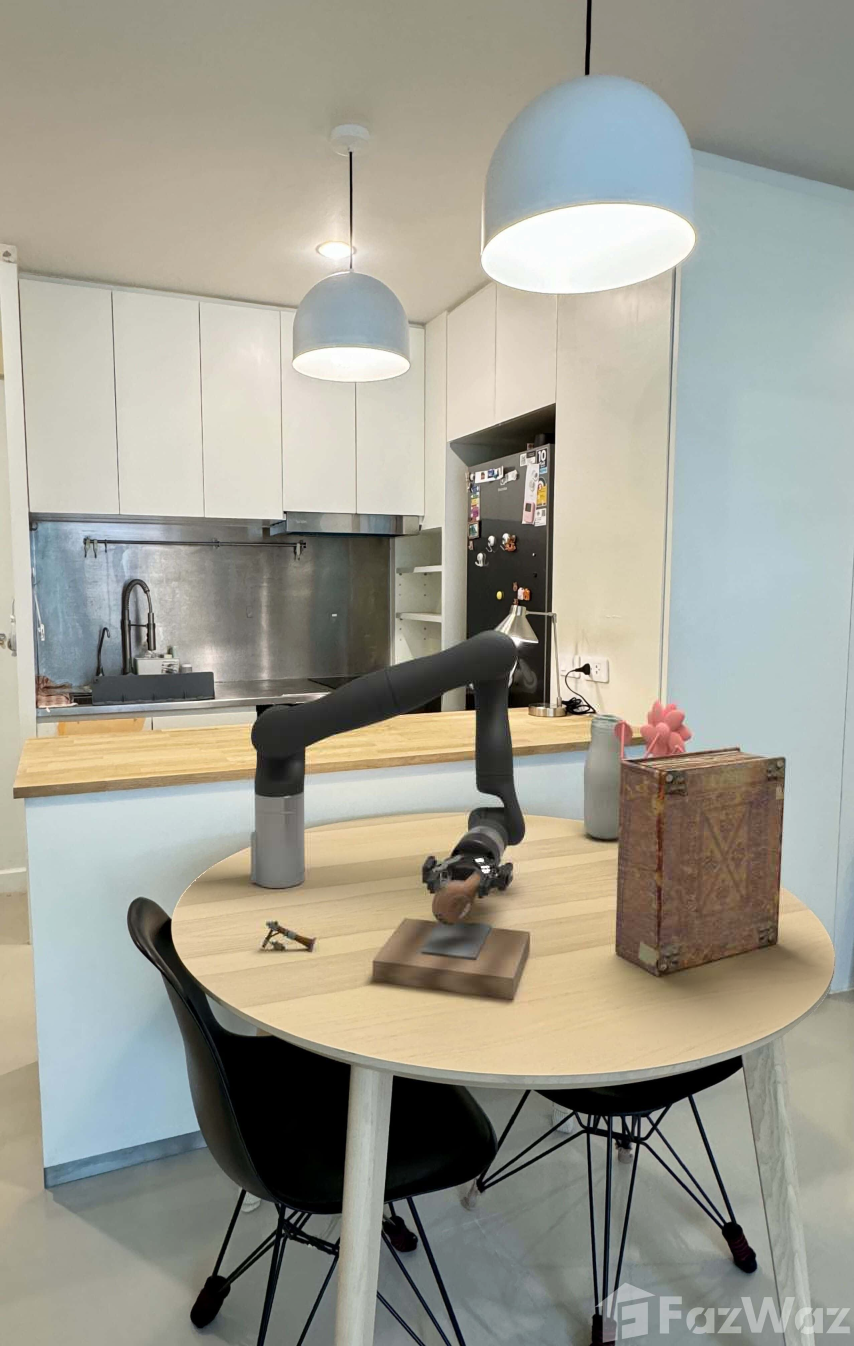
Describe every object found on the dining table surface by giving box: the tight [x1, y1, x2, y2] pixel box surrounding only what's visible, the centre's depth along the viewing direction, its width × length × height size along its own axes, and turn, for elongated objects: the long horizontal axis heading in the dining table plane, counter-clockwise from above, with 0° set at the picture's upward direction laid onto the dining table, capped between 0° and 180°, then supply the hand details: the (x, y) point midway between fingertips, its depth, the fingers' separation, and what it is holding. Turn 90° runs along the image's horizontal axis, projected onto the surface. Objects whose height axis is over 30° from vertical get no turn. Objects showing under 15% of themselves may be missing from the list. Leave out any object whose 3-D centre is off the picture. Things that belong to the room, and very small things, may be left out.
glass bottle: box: [583, 714, 628, 840], centre depth 185 cm, size 10×10×28 cm
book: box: [614, 746, 787, 978], centre depth 127 cm, size 25×9×30 cm, turn 118°
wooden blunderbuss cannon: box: [261, 920, 317, 952], centre depth 127 cm, size 2×8×4 cm, turn 90°
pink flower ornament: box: [614, 699, 692, 761], centre depth 156 cm, size 15×26×35 cm, turn 25°
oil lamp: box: [431, 869, 484, 925], centre depth 123 cm, size 9×4×8 cm, turn 117°
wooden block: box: [372, 917, 531, 1001], centre depth 122 cm, size 20×16×3 cm
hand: (456, 889), depth 121 cm, fingers closed on oil lamp, 6 cm apart
